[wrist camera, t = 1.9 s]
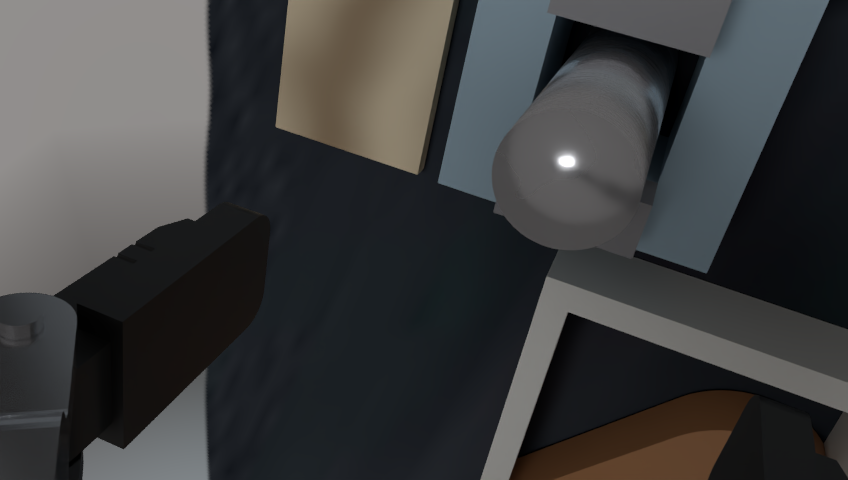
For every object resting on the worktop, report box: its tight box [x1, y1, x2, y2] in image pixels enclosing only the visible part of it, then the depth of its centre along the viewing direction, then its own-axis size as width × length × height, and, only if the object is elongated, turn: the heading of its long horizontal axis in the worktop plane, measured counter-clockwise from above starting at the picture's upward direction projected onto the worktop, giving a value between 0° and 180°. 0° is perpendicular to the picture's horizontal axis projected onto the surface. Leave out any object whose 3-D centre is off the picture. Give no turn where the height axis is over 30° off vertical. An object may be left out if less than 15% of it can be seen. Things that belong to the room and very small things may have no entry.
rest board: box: [276, 0, 459, 175], centre depth 32 cm, size 7×9×1 cm
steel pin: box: [492, 26, 678, 250], centre depth 24 cm, size 4×4×13 cm
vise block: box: [438, 0, 829, 273], centre depth 26 cm, size 10×10×7 cm
